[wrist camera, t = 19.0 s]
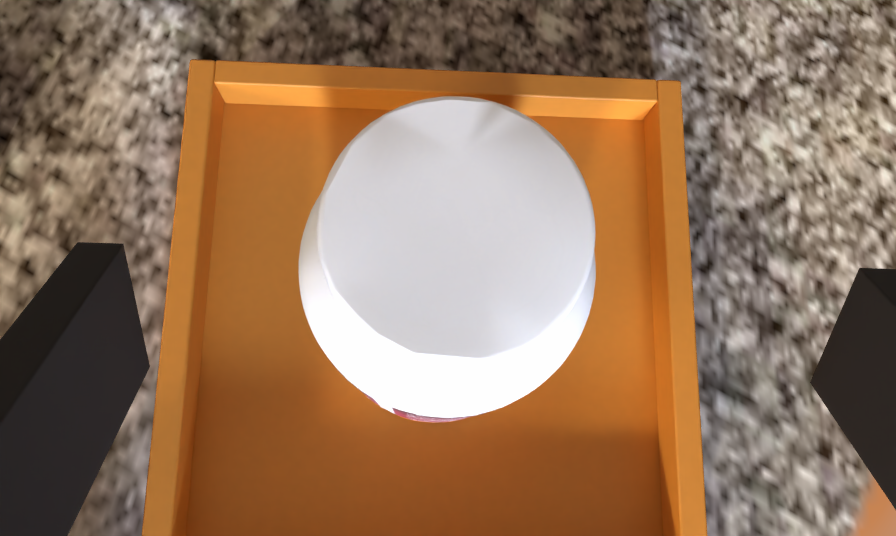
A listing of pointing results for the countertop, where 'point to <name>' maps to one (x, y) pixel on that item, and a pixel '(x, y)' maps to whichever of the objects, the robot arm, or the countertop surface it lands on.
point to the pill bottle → (449, 258)
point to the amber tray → (349, 410)
